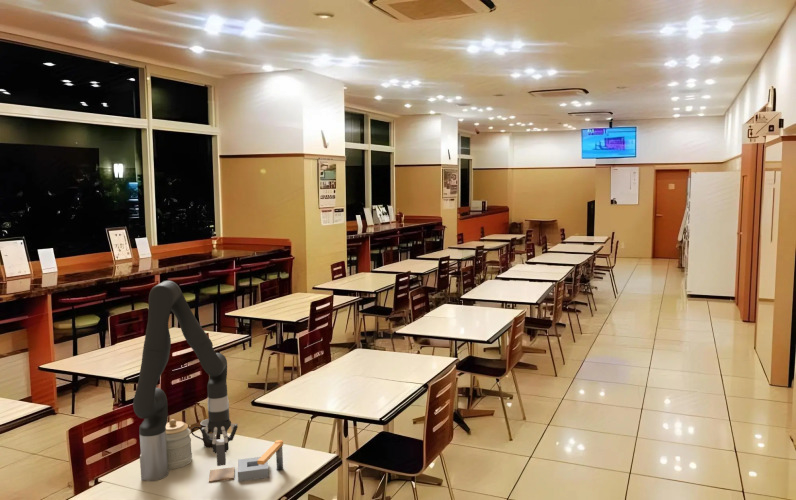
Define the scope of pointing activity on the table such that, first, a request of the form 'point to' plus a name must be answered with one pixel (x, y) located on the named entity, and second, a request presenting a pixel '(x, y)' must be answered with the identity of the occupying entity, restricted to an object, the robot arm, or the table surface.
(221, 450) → the plug
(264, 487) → the table surface
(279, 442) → the orange flat bar
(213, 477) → the pad
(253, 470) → the socket block
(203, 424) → the coffee mug
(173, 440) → the jar
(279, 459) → the post
